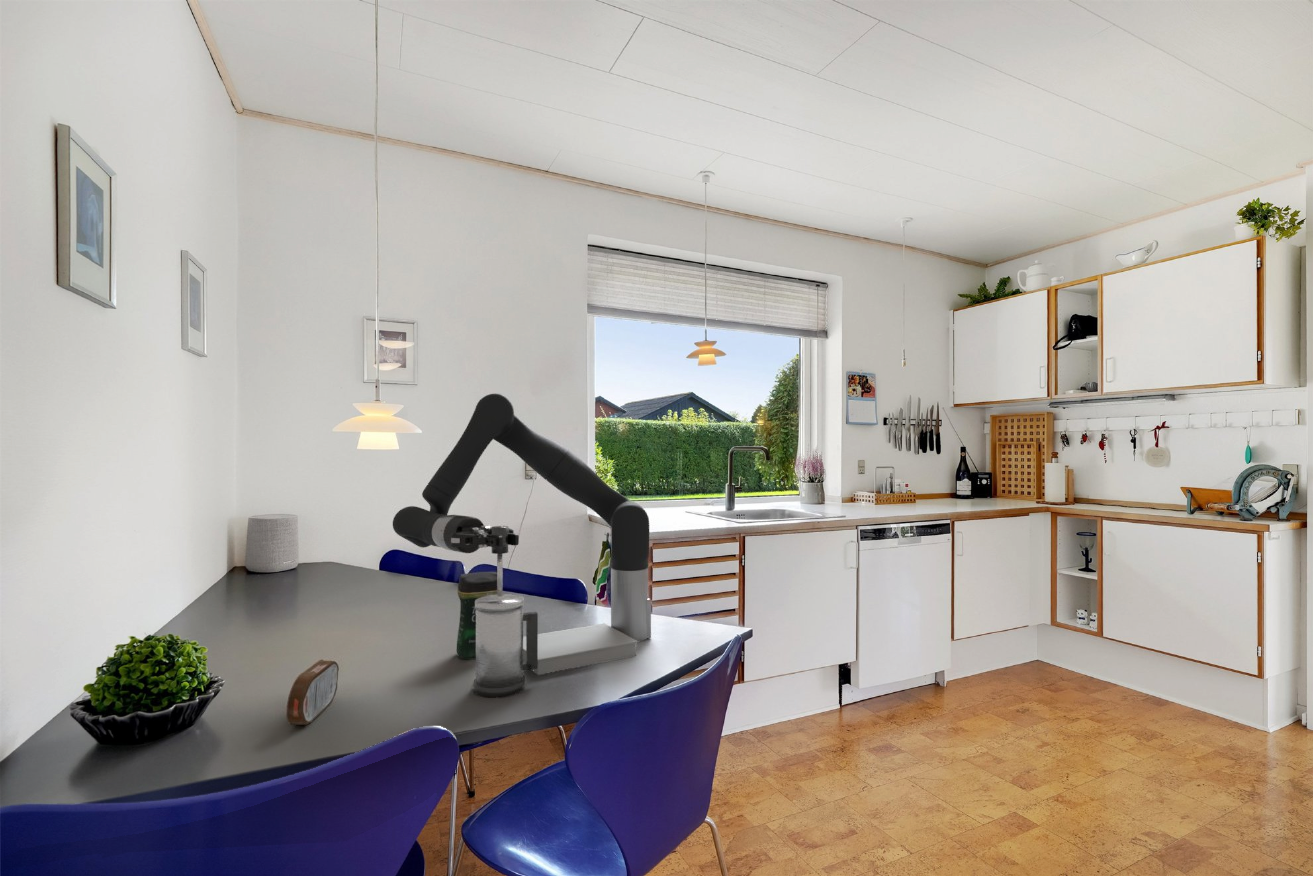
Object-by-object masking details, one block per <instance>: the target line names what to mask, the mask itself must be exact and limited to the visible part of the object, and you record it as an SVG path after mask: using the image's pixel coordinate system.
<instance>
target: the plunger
mask: <svg viewBox="0 0 1313 876" xmlns="http://www.w3.org/2000/svg"><path fill="white" fill-rule="evenodd" d="M491 527H492V535H497V536H502V538H503V546H502V547H501V548H495V547H491V554H494V555H496V554H497V555H496V559H497V560H496V561H497V562H496V563H497V564H496V565H497V567H496V568H497V571H496V573H497V596H502V594H503V575H504V574H503V571H504V570H503V567H504V565H503V561H504V559H503V557H504V556H503V554H507V553H509V545H508V528H509V526H508V525H495V526H491Z"/></svg>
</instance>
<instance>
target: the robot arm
mask: <svg viewBox="0 0 1313 876" xmlns="http://www.w3.org/2000/svg"><path fill="white" fill-rule="evenodd" d="M514 410H515V409H514V406H513V404H512V402H511V400H510V399H509V398H508V397H507V396H505V395H503V394H501V393H490V394H487V395H484V396H483V397H482V398H480V399H479V401H478V402H477V403H476V405H475V408H474V411H473V413H472V416H471V417H470V420H469V422H468V424H467V426H466V428H465V430H464V431H463V433H462V434H461V436H460V438H459V440H458V441H457V442H456V444H455V445H454V447H453V449H452V450H451V451H450V453H449V454H448V455H447V456H446V457H445V459H444V461H443V462H442V463H441V464H440V466H439V468H438V469H437V471H435V473H434V474H433V476H432V477H431V479H430V480H429V482H428V483H427V484H426V486H425V487H424V489H423V491H422V493H421V496H422V498H423V499H424V501H425V502H427V504H428V505H429V508H430V509H429V510H428V509H425V508H422V507H419V506H415V505H411V506H406V507H403V508H401V509H400V510H398V511H397V512H396V514H395V515H394V516H393V519H392V529H393V531H394V532H395V533H396V535H397V536H400V537H401V538H402V539H405V540H407V541H409V542H410V543H412V544H414V545H415V546H417V547H419V548H427V547H430V546H433V547H438V548H442V549H445V550H448V551H451V552H456V553H463V554H472V553H475V552H477V551H478V550H479V549H480V548H488V547H490V548H492V547H495V548H501V547H502V546H503V538H502V536H497V535H492V527H493V526H490V525H484V523H483V522H482V521H481V520H480V518H477V517H476V516H468V515H460V514H449V511H450V508H451V505H452V504H453V503H454V502H455V500H456V498H457V496H458V495H459V494H460V493H461V491H462V489H463V488H464V486H465V485H466V483H467V482H468V480H469V478H470V477H471V475H472V473H473V471H474V469H475V467H476V465H477V463H478V462H479V460H480V458H481V456H482V455H483V453H484V452H485V450H486V449H487V448H488V446H489V445H490V443H491V442H492V441H496V442H497V443H499V444H500V445H502V446H503V447H505V448H507V449H508V450H510V451H511V452H513V453H514V454H515V455H517V456H518V457H519V458H520V459H521V460H522V461H523V463H525V464H526V465H527V466H528V467H529V468H531V469H532V470H533V471H535V473H537V474H538V475H539V476H540V477H541V478H543V479H544V480H545V481H546V482H548V483H549V484H551V485H552V486H553V487H554V488H556V489H557V490H558V491H560V492H562V493H563V494H564V495H566V496H568V497H569V498H571V499H573V500H575V501H576V502H579V503H580V504H582V505H584V506H587V507H588V508H589V509H590V510H592V511H593V512H595V513H596V514H597V515H598V516H599V517H600V518H602V519H603V521H605V522H606V523H607V525H608V526H609V527H611V529H610V530H611V532H610V533H611V534H610V535H611V540H610V541H611V546H610V547H611V549H610V550H611V553H610V627H612V628H614V629H616V630H618V631H620V632H622V633H624V634H625V635H627V636H629V637H631V638H633V639H635V640H637V641H638V642H642V640H643V641H645V640H647V638H648V639H651V638H652V600H651V598H649V559H650V519H649V515H648V513H647V511H646V510H645V509H644V508H643V506H642V505H640V504H638V503H636V502H634V501H632V500H631V499H629V498H627V497H626V496H624V495H623V494H621V493H620V492H618V491H617V490H616V489H613V488H612V487H611V486H610V485H608V484H607V483H606V482H605V481H604V480H603V479H602V478H601V477H600V476H599V475H598V473H596V472H595V471H594V470H593V469H592V468H591V467H590V466H589V465H587V464H586V462H584V461H583V460H582V459H581V458H579V457H578V456H577V455H576V454H574V453H573V452H571V450H569V449H567V448H566V447H565V446H563V445H561V444H560V443H558V442H556V441H554V440H553V439H550V438H548V437H546V436H544V435H542V434H539V433H538V432H537V431H535V430H533V429H532V428H530V427H529V426H528V425H526V424H525V422H523V421H522V420H521V419H520V418H519V417H518V416H517V415H516V414H515V411H514ZM514 530H515V529H512V528H510V527H508V546H518V545H519V543H520V541H519V538H520V535H519V534H518V533H515V532H514Z"/></svg>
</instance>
